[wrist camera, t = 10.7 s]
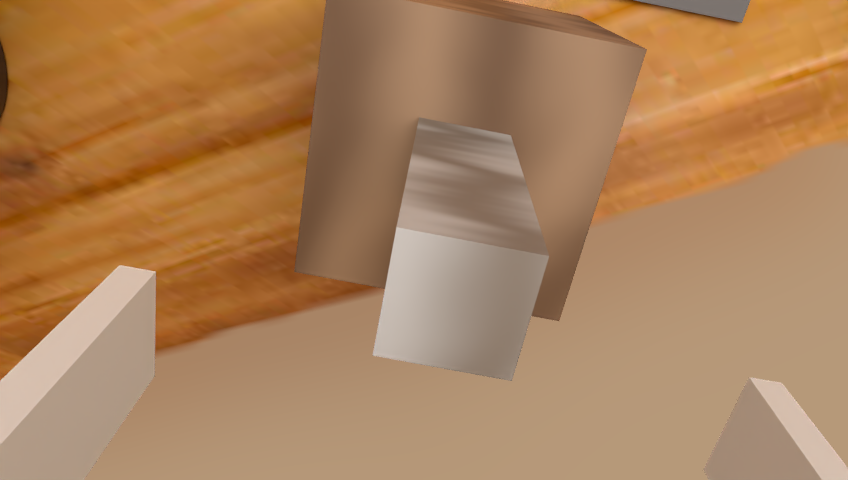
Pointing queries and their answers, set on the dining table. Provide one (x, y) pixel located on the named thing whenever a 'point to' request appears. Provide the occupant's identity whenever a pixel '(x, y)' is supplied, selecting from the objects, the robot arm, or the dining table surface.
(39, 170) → the dining table surface
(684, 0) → the mat
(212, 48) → the dining table surface
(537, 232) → the wooden block with peg
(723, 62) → the dining table surface
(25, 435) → the robot arm
